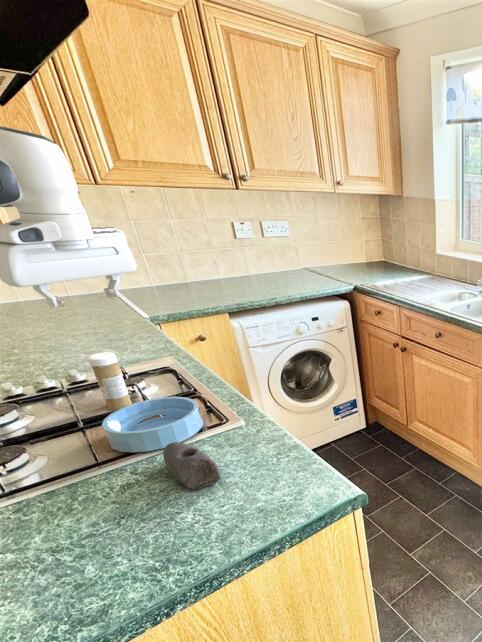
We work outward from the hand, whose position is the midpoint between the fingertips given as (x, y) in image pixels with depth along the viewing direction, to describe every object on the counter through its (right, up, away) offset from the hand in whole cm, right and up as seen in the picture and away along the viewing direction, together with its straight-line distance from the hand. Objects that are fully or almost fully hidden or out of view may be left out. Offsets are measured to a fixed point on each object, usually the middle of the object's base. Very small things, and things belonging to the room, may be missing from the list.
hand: (86, 301), depth 84 cm
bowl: (+10, -28, +6) cm, 30 cm away
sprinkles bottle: (-7, -23, +15) cm, 28 cm away
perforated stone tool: (+26, -35, -6) cm, 44 cm away
